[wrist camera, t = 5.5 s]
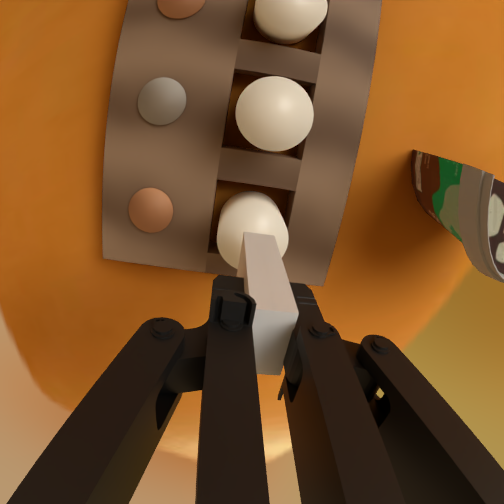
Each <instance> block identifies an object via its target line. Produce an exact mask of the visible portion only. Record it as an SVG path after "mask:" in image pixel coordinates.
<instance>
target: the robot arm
mask: <svg viewBox="0 0 504 504" xmlns="http://www.w3.org/2000/svg"><path fill="white" fill-rule="evenodd" d="M283 365H284V369H285V376H284V379H283V382H282V385H281V388H280V391H279V394H278V400H281V398H282V395H283V393H284V399H285V405H286V411H287V417H288V423H289V429H290V436H291V442H292V448H293V454H294V460H295V466H296V472H297V478H298V485H299V491H300V497H301V503H302V504H504V470H503V469H502V468H501V467H500V465H499V464H498V463H497V461H496V460H495V459H494V458H493V457H492V455H491V454H490V453H489V452H488V451H487V449H486V448H485V447H484V445H483V444H482V443H481V442H480V441H479V439H477V437H476V436H475V435H474V434H473V432H472V431H471V430H470V429H469V428H468V426H467V425H466V424H465V423H464V422H463V421H462V419H461V418H460V417H459V416H458V415H457V414H456V412H455V411H454V410H453V409H452V408H451V407H450V406H449V404H448V403H447V402H446V401H445V400H444V399H443V397H441V395H440V394H439V393H438V392H437V391H436V389H435V388H434V387H433V386H432V385H431V384H430V383H429V382H428V381H427V379H426V378H425V377H424V376H423V375H422V374H421V373H420V372H419V370H418V369H417V368H416V367H415V366H414V365H413V364H412V363H411V362H410V360H409V359H408V358H407V357H406V356H405V355H404V354H403V353H402V352H401V351H400V350H399V348H398V347H397V346H396V345H395V344H394V343H393V342H391V341H390V340H389V339H387V338H385V337H383V336H379V335H368V336H365V337H364V338H363V339H362V341H361V344H357V343H353V342H349V341H346V340H343V339H341V337H340V335H339V333H338V331H337V330H336V328H335V327H333V326H332V325H330V324H329V323H326V322H324V319H323V317H322V314H321V312H320V310H319V307H318V305H317V302H316V300H315V297H314V295H313V293H312V290H311V289H309V288H308V287H307V286H306V285H305V284H302V283H293V282H289V280H288V277H287V274H286V270H285V267H284V264H283V261H282V258H281V255H280V252H279V249H278V245H277V242H276V239H275V236H274V235H266V234H259V233H252V232H244V233H243V239H242V245H241V251H240V258H239V264H238V270H237V276H236V277H233V276H225V275H218V276H217V277H216V278H215V279H214V280H213V287H212V295H211V304H210V313H209V319H208V321H207V322H206V323H205V324H204V325H202V326H200V327H197V328H193V329H184V327H183V326H182V325H181V324H180V323H179V322H177V321H175V320H173V319H169V318H164V317H161V318H153V319H150V320H147V321H146V322H145V323H143V324H142V325H141V327H140V328H139V329H138V330H137V331H136V333H135V334H134V335H133V336H132V338H131V339H130V340H129V341H128V342H127V344H126V345H125V346H124V347H123V349H122V350H121V351H120V352H119V354H118V355H117V356H116V357H115V359H114V360H113V361H112V362H111V364H110V365H109V366H108V367H107V369H106V370H105V371H104V373H103V374H102V375H101V376H100V378H99V379H98V380H97V381H96V383H95V384H94V385H93V387H92V388H91V389H90V390H89V392H88V393H87V394H86V396H85V397H84V398H83V399H82V401H81V402H80V403H79V405H78V406H77V407H76V409H75V410H74V411H73V412H72V414H71V415H70V416H69V418H68V419H67V420H66V422H65V423H64V424H63V426H62V427H61V428H60V430H59V431H58V433H57V434H56V435H55V437H54V438H53V439H52V441H51V442H50V443H49V445H48V446H47V447H46V449H45V450H44V451H43V453H42V454H41V456H40V457H39V458H38V460H37V461H36V462H35V464H34V465H33V467H32V468H31V469H30V471H29V472H28V474H27V475H26V476H25V478H24V479H23V481H22V482H21V484H20V485H19V486H18V488H17V489H16V491H15V492H14V494H13V495H12V497H11V498H10V499H9V501H8V502H7V504H129V501H130V500H131V498H132V496H133V494H134V492H135V490H136V488H137V486H138V483H139V482H140V480H141V477H142V475H143V474H144V471H145V469H146V467H147V465H148V463H149V461H150V459H151V457H152V455H153V453H154V451H155V449H156V447H157V445H158V443H159V441H160V439H161V437H162V435H163V433H164V431H165V429H166V427H167V425H168V423H169V421H170V419H171V417H172V415H173V413H174V411H175V409H176V407H177V405H178V403H179V401H180V399H181V396H182V393H183V392H191V391H198V390H202V399H201V413H200V427H199V443H198V459H197V478H196V501H195V504H270V503H269V493H268V483H267V475H266V464H265V454H264V444H263V434H262V424H261V414H260V404H259V393H258V383H257V374H266V375H280V374H281V371H282V368H283ZM379 388H381V390H382V391H383V392H384V395H383V397H382V398H379V397H378V396H377V394H376V393H377V391H378V389H379Z"/></svg>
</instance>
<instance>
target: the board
mask: <svg viewBox="0 0 504 504" xmlns="http://www.w3.org/2000/svg"><path fill="white" fill-rule="evenodd" d="M247 4H248V0H129V1H128V5H127V9H126V13H125V17H124V21H123V26H122V30H121V35H120V39H119V44H118V50H117V55H116V60H115V66H114V72H113V78H112V85H111V92H110V100H109V108H108V116H107V126H106V137H105V150H104V165H103V189H102V244H103V259H110V260H116V261H123V262H130V263H137V264H145V265H152V266H159V267H166V268H174V269H181V270H189V271H197V272H205V273H213V274H221V275H229V276H237V270H238V269H236V268H234V267H232V266H231V265H230V264H228V263H227V262H226V261H225V260H224V259H223V257H222V256H221V254H220V252H219V249H218V246H217V242H210V233H211V225H212V217H213V209H214V202H215V194H216V187H217V179H218V180H226V181H233V182H240V183H247V184H254V185H261V186H267V187H274V188H280V189H286V190H289V195H288V200H287V205H286V210H285V215H284V222H285V225H286V227H287V230H288V246H287V249H286V251H285V253H284V255H283V257H282V261H283V264H284V267H285V270H286V274H287V277H288V280H289V282H293V283H302V284H307V285H316V286H323V285H324V282H325V279H326V275H327V272H328V268H329V265H330V261H331V258H332V254H333V251H334V247H335V243H336V240H337V236H338V232H339V228H340V224H341V221H342V217H343V213H344V209H345V205H346V201H347V197H348V192H349V188H350V184H351V180H352V175H353V171H354V167H355V162H356V157H357V153H358V148H359V143H360V138H361V134H362V129H363V123H364V118H365V113H366V108H367V102H368V97H369V91H370V85H371V79H372V73H373V66H374V60H375V53H376V46H377V39H378V31H379V23H380V14H381V5H382V0H327V5H328V8H327V13H326V16H325V18H324V19H323V21H322V22H321V23H320V25H319V31H318V37H317V43H316V49H315V53H313V52H309V51H305V50H300V49H296V48H291V47H286V46H281V45H276V44H270V43H264V42H258V41H252V40H245V39H241V34H242V29H243V24H244V19H245V14H246V9H247ZM234 73H239V74H246V75H252V76H259V77H269V76H279V77H284V78H287V79H290V80H292V81H294V82H296V83H297V84H301V85H305V86H309V90H308V96H309V97H310V100H311V102H312V105H313V111H314V117H313V123H312V127H311V129H310V131H309V133H308V135H307V136H306V137H305V138H304V139H303V140H302V141H301V142H300V143H299V144H298V149H297V154H296V156H291V155H285V154H280V153H274V152H268V151H262V150H256V149H249V148H242V147H235V146H228V145H223V138H224V132H225V126H226V119H227V113H228V107H229V101H230V95H231V89H232V83H233V78H234Z"/></svg>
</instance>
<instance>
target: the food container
mask: <svg viewBox="0 0 504 504" xmlns="http://www.w3.org/2000/svg"><path fill="white" fill-rule="evenodd" d="M411 172H412V184H413V187H414V190H415V194H416V197H417V200H418V201H419V203H420V204H421V206H422V207H423V208H424V210H425V211H426V213H427V214H429V215H430V216H431V217H432V218H434V219H435V220H436V221H437V222H439V223H440V224H441V225H442V226H443V227H445V228H446V229H447V230H448V231H449V232H450V233H452V234H453V235H454V236H455V237H456V238H457V239H459V240H460V241H461V242H462V243H463V245H464V248H465V251H466V253H467V256H468V257H469V259H470V261H471V262H472V264H473V265H474V266H475V267H476V268H477V269H478V271H480V272H481V273H483V274H484V275H486V276H489V277H491V278H493V279H495V280H498V281H500V282H503V283H504V183H503V182H501V181H498V180H496V179H494V175H493V174H490V173H487V172H485V171H483V170H480V169H477V168H474V167H472V166H469V165H466V164H461V163H458V162H455V161H451V160H448V159H445V158H441V157H438V156H435V155H431V154H428V153H424V152H420V151H417V150H413V154H412V161H411Z"/></svg>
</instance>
